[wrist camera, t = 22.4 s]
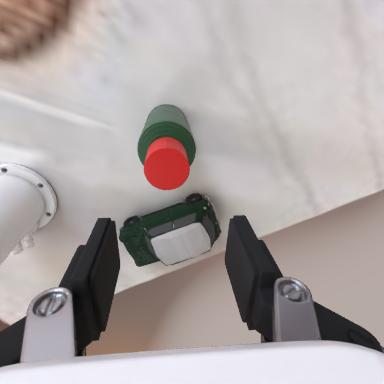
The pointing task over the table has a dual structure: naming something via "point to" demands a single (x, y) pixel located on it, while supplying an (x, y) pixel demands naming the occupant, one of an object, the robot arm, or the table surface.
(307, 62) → the table surface
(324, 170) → the table surface
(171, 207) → the miniature car
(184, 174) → the cap
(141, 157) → the bottle
